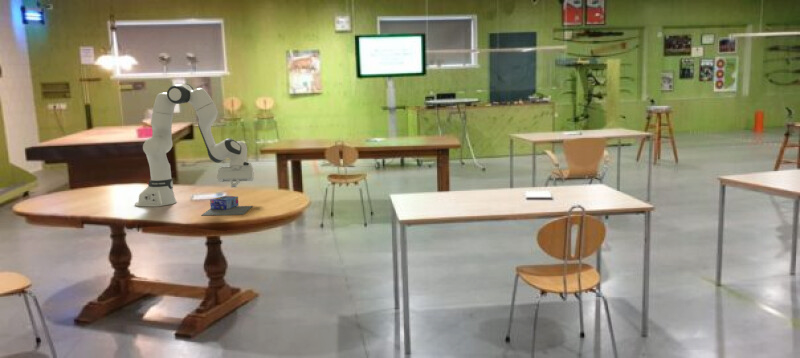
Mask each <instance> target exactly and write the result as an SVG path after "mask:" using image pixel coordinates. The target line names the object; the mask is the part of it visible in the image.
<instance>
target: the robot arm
mask: <svg viewBox="0 0 800 358" xmlns="http://www.w3.org/2000/svg"><path fill="white" fill-rule="evenodd" d="M186 103H189V104H190V105H191V106H192V107H193V109H194V111H195V113H196V115H197V117H198V130H199V132H200V134H201V137H202V140H203V142H204V144H205V148H206V151H207V155H208V157H209V159H210V160H211V161H213V163H217V164H219V163H221V162H223V161H224V160H226V159H228V158H229V165H228V166H224V167H223V166H221V167H219V169H218V171H217V176H216V179H217V181H218V182H219V183H226V182H227V183H228V182H230V188H238V185H239V184H240V182H253V180H254V179H255V175H254V167H253V165H252V163H250V162H249V161H246V160H247V157H248V147H247V144H246V143H245V142H243V141H240V140H237V141H236V140H235V139H234V138H233V139H232V138H225V139H224V140H221V141H220V142H218V143H216V140H215V138H214V135H213V133H212V126H213V124H214V123H215V121H216V119H217V118H218V113H219V112H218V107H217V106H216V104H215V102H214V101H213V99H212V97H211V96H210V94H209V93H208V92H207V91H206V90H205V88H203V87H198V88H197V87H196V88H193V86H191V85H190V84H188V83H177V84H172V85H171V86H170V87H168V88H167V92H160V93H157V95H156V97H155V100H154V104H153V107H152V112H151V113H152V114H151V120H150V126H151V129H152V136H151V137H149V138H147V139H146V140H145V141H144V143H143V144H142V150H143V153H144V154H145V155H146V159H147V163H148V165H149V172H150V173H149V175H150V179H149V180H148V181H147V182H146V184H147V185H148V186H147V187H145V189H144V190H142V191H141V192H140V193H139V195H138V201H137V202H135V203H134V207H163V206H167V205H168V206H169V205H174V204H176V203H177V200H176V197H175V194H174V193H175V192H174V181H173V178H172V171H171V163H169V160H168V157H167V153H169V152H170V151H171V150H172V147H173V146H174V145H173V138H172V128H173V127H172V126H173V121H174V120H173V118H174V113H175V107H176V106H177V105H181V104H186ZM234 182H235V183H234Z"/></svg>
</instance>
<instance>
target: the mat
mask: <svg viewBox="0 0 800 358" xmlns="http://www.w3.org/2000/svg"><path fill="white" fill-rule="evenodd" d="M252 208H253V205H238V206H236V207H232V208H229V209H226V210H219V209H211V207H210V208H209V209H208V210H207V211H204V213H202V214H201V217H203V216H205V217H206V216H207V217H208V216H243V215H245V214H246V213H247V212H249V210H251V209H252Z"/></svg>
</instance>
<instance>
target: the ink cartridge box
mask: <svg viewBox="0 0 800 358" xmlns="http://www.w3.org/2000/svg"><path fill="white" fill-rule="evenodd" d="M209 204H210V208H211V209H219V210H226V209H229V208H232V207H236V206H239V196H232V195H223V196H219V197H215V198H211V199H209Z"/></svg>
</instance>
